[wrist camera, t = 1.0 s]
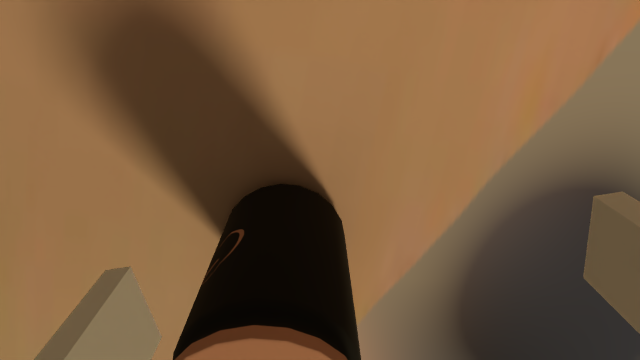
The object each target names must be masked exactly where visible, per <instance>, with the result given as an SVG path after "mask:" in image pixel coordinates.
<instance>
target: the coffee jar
mask: <svg viewBox="0 0 640 360" xmlns="http://www.w3.org/2000/svg"><path fill="white" fill-rule="evenodd" d="M173 360H361V355H360V348H359V341H358V333H357V325H356V318H355V310H354V303H353V295H352V288H351V280H350V273H349V265H348V258H347V250H346V243H345V235H344V231H343V226H342V221H341V219H340V217H339V215H338V214H337V212H336V211H335V209H334V207H333V206H332V205H331V204H330V203H329V202H328V201H326V200H325V199H324V198H323V197H321V196H320V195H319V194H318V193H316V192H313V191H311V190H308V189H306V188H303V187H301V186H295V185H285V184H279V185H273V186H268V187H263V188H260V189H258V190H256V191H254V192H253V193H251V194H249V195H247V196H245V197H244V198H243V199H242V200H241V201H240V202H239V203H238V204H237V205H236V206H235V207H234V208H233V210H232V212H231V214H230V217H229V219H228V221H227V224H226V226H225V229H224V231H223V234H222V236H221V238H220V241H219V243H218V246H217V248H216V251H215V253H214V256H213V258H212V260H211V263H210V265H209V268H208V270H207V273H206V275H205V278H204V280H203V282H202V285H201V287H200V290H199V292H198V295H197V297H196V300H195V302H194V304H193V307H192V309H191V312H190V314H189V317H188V319H187V321H186V324H185V326H184V329H183V331H182V334H181V336H180V339H179V341H178V343H177V346H176V348H175V351H174V354H173Z"/></svg>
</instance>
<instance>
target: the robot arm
mask: <svg viewBox="0 0 640 360" xmlns="http://www.w3.org/2000/svg"><path fill="white" fill-rule="evenodd" d="M583 278H584V279H585V280H586V281H587V282H588V283H589V284H590V285H591V286H592V287H593V288H594V289H595V290H597V292H598V293H599V294H600V295H601V296H602V297H603V298H604V299H605V300H606V301H607V302H608V303H609V304H610V305H611V306H612V307H613V308H614V309H615V310H616V311H617V312H618V313H619V314H620V315H621V316H622V317H623V318H624V319H625V320H626V321H627V322H629V324H630V325H631V326H632V327H633V328H634V329H635V330H636V331H637V332H638V333H639V334H640V202H639V201H637V200H636V199H634V198H632V197H631V196H629V195H627V194H625V193H624V192H618V193H612V194H605V195H598V196H594V198H593V206H592V214H591V222H590V229H589V237H588V245H587V253H586V261H585V269H584V276H583ZM161 338H162V336H161V334H160V332H159V329H158V327H157V325H156V323H155V320H154V318H153V316H152V314H151V311H150V309H149V307H148V305H147V302H146V300H145V298H144V295H143V293H142V291H141V289H140V286H139V284H138V282H137V280H136V277H135V275H134V273H133V271H132V268H131V267H124V268H117V269H111V270H105V272H104V273H103V274H102V275H101V277H100V278H99V279H98V280H97V282H96V283H95V284H94V285H93V287H92V288H91V289H90V290H89V292H88V293H87V294H86V295H85V297H84V298H83V299H82V300H81V302H80V303H79V304H78V305H77V306H76V308H75V309H74V310H73V311H72V313H71V314H70V315H69V316H68V318H67V319H66V320H65V321H64V323H63V324H62V325H61V326H60V328H59V329H58V330H57V331H56V333H55V334H54V335H53V336H52V338H51V339H50V340H49V341H48V343H47V344H46V345H45V346H44V348H43V349H42V350H41V351H40V353H39V354H38V355H37V356H36V358H35V359H34V360H151V359H152V357H153V355H154V353H155V350H156V348H157V346H158V344H159V342H160V340H161Z"/></svg>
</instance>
